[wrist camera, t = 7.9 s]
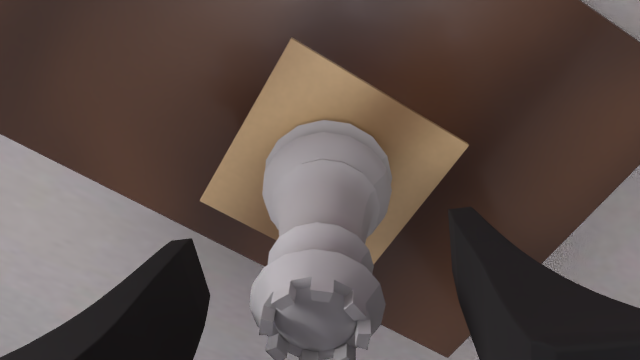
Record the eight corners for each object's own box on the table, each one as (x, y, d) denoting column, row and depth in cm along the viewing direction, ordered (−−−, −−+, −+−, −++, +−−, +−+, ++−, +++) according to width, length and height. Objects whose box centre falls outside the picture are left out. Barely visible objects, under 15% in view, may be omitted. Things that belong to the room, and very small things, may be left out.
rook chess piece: (359, 93, 18) (365, 221, 11) (410, 201, 20) (444, 372, 12) (242, 145, 19) (177, 294, 12) (300, 243, 21) (274, 422, 14)
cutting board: (682, 76, 19) (716, 94, 17) (441, 329, 25) (448, 362, 23) (-94, -467, 14) (-161, -522, 12) (-166, 18, 20) (-218, 30, 18)
